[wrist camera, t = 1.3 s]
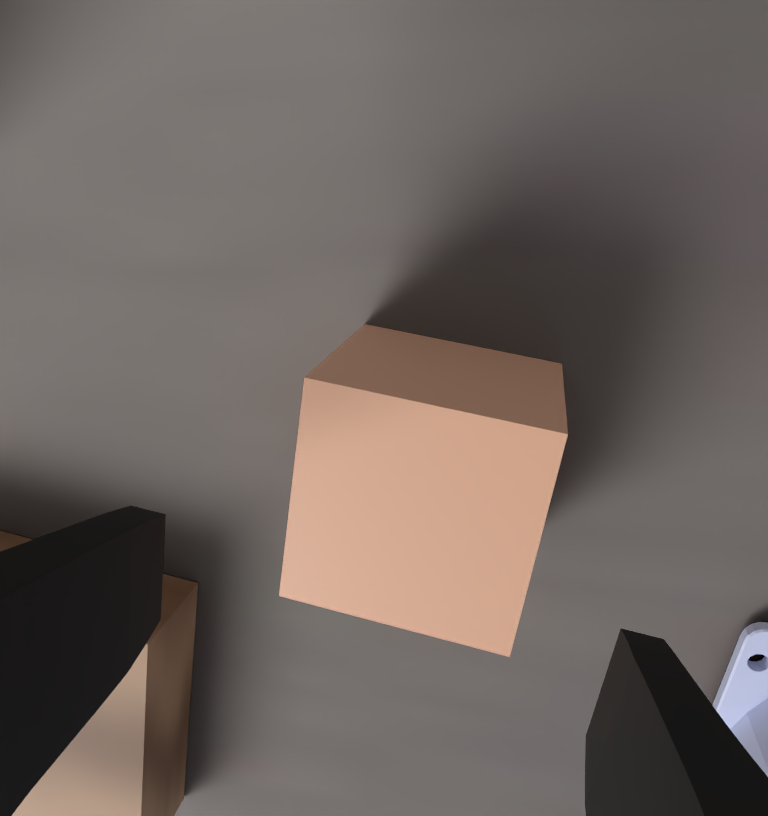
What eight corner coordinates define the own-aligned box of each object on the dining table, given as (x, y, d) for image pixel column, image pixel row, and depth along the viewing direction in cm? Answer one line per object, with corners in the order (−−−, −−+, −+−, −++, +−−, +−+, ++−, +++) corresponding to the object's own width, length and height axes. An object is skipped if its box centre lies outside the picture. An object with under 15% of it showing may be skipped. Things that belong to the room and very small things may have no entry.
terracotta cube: (518, 538, 19) (509, 656, 15) (340, 495, 20) (278, 596, 15) (561, 362, 17) (568, 434, 13) (366, 323, 18) (304, 377, 14)
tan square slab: (183, 798, 25) (138, 877, 22) (-43, 727, 26) (-112, 794, 23) (198, 582, 22) (148, 644, 19) (-60, 515, 23) (-142, 562, 20)
